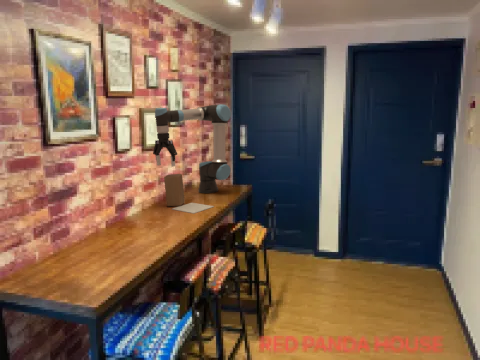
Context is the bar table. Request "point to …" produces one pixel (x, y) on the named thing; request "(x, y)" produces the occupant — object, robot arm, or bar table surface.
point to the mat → (192, 208)
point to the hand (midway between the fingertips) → (166, 165)
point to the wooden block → (174, 189)
